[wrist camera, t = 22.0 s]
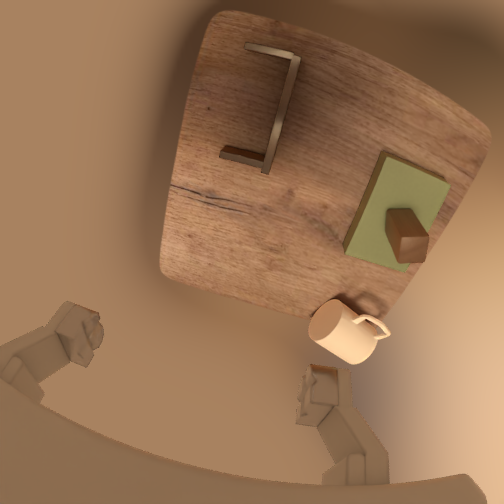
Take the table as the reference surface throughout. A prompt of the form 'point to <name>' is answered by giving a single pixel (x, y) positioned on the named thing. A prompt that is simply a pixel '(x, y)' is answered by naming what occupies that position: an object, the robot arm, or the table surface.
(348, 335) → the cup
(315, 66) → the table surface
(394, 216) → the wooden block
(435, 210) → the board
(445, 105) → the table surface
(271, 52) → the frame
